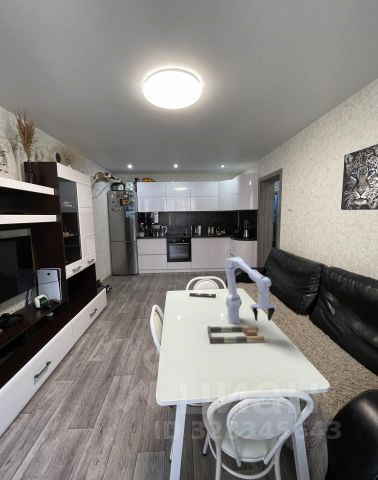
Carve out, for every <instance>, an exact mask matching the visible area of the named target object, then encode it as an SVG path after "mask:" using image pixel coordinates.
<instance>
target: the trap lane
mask: <svg viewBox="0 0 378 480" xmlns="http://www.w3.org/2000/svg"><path fill="white" fill-rule="evenodd" d="M244 326H245V325H243V326H242V325H235V326H229V325H228V326H210V325H207V335H208V340H209V343H210V344H227V343H231V344H235V343H236V344H237V343H241V344H242V343H265V336H264V335H257V336H245V335H244V336H243V335H242V336H234V335H233V336H212V333H238V332H239V333H240V332H241V333H242V332H243V333H244ZM253 326H254V327H255V329H256V330H257V332H259V327H258V325H253Z"/></svg>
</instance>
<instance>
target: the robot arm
mask: <svg viewBox="0 0 378 480" xmlns="http://www.w3.org/2000/svg"><path fill="white" fill-rule="evenodd" d="M224 263H225V274H226V281H227V291H228V294H227V296H226V301H225V305H226V308H227V315H226V319H227V321H228V324H241V320H240V308H241V306H242V299H241V296H240V295H239V294H238V291H237V290H238V289H237V284H236V276H235V271H236V269H238V268H240V269H241V270H242V271H243V272H245V273H247V274H248V278H249V279H250V280H252V281H253V282H254V283H256V286H257V290H258V291H257V293H258V295H257V296H258V297H257V303H254V304H249V305H250V307H249V308H250V310H252V312H253V316H254V321H256V322H257V321H258V314H259V311H258V309H259V310H260V309H263V310H267V320H268V321H270V322H271V319H272V318H273V317H272V316H273V315H274V313H275V310H276V309H277V305H276V304H275V303H274V304H272V303H271V304H270V303H269V297H270V296H269V295H270V287H271V286H272V281H271V279H270V278H269V276H268V277H267V276H264V275H262V274H261V273H260V272H258V270H256V269H252V268H251V267H250V266H249V264H247V263H245V262H244V259H243V258H242V257H240V256H236V257H231V258H230V257H229V258H227V259H226V260H225V261H224Z"/></svg>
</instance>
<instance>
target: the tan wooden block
mask: <svg viewBox="0 0 378 480" xmlns="http://www.w3.org/2000/svg"><path fill="white" fill-rule="evenodd" d="M243 326H244V332H243V334H244V336H258V331H257V330H256V329H255V327H254V326H255V325H243Z"/></svg>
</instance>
